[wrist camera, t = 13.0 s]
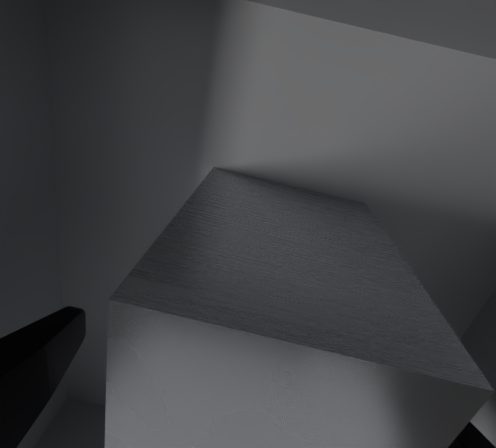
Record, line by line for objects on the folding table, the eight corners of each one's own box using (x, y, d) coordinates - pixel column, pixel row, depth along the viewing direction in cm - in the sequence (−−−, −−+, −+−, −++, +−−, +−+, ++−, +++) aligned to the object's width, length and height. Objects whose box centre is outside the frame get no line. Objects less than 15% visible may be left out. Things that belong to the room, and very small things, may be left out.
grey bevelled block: (291, 386, 12) (298, 626, 7) (180, 360, 12) (101, 579, 7) (366, 203, 9) (495, 390, 4) (213, 167, 9) (108, 299, 4)
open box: (380, 471, 15) (422, 640, 10) (55, 394, 15) (-41, 529, 11) (677, 55, 7) (1310, 14, 3) (15, -102, 7) (-409, -391, 3)
